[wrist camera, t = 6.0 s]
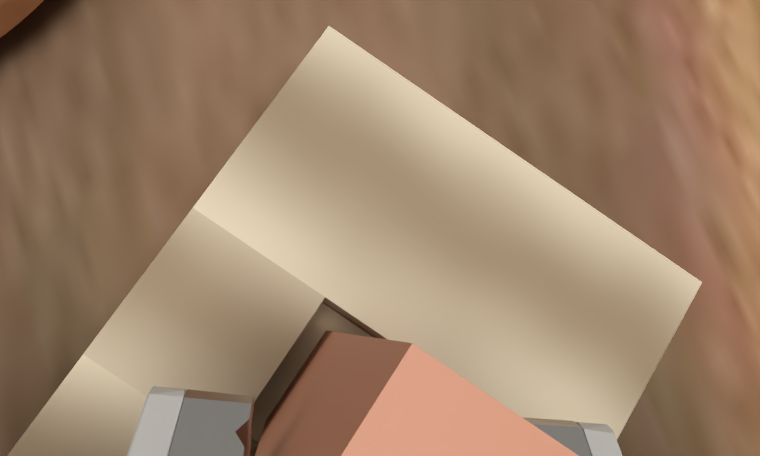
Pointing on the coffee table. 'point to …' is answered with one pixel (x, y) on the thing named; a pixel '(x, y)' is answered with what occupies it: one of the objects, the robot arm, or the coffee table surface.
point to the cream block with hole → (377, 269)
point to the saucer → (15, 13)
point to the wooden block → (392, 408)
